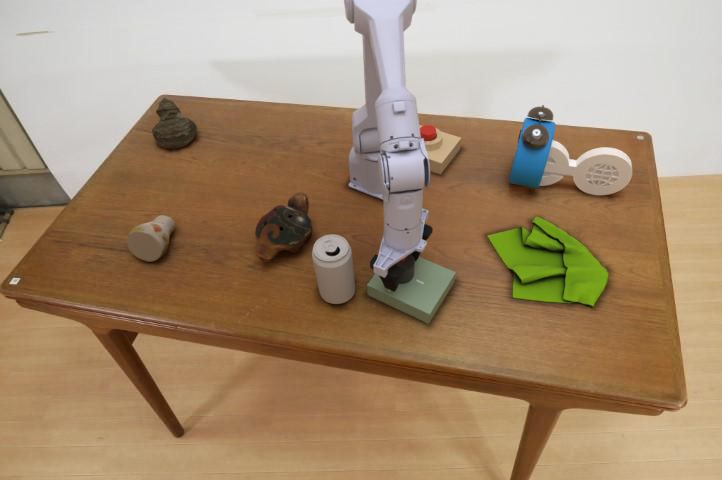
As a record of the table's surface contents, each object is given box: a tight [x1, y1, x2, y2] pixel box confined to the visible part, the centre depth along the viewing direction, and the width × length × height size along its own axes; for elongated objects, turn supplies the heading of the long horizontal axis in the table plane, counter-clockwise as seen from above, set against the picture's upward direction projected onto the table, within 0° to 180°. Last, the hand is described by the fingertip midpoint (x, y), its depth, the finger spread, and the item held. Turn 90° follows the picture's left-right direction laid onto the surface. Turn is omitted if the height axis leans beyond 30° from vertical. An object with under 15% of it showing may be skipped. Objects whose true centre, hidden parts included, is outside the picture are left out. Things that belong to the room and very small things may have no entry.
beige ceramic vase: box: [125, 214, 176, 262], centre depth 92 cm, size 8×10×10 cm
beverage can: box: [311, 233, 356, 305], centre depth 81 cm, size 6×6×12 cm
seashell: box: [151, 97, 198, 150], centre depth 112 cm, size 11×12×10 cm
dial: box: [397, 254, 415, 284], centre depth 82 cm, size 4×4×4 cm
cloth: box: [486, 216, 610, 307], centre depth 87 cm, size 20×22×2 cm
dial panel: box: [366, 256, 457, 325], centre depth 84 cm, size 12×10×3 cm
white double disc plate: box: [539, 139, 633, 196], centre depth 96 cm, size 22×2×10 cm, turn 73°
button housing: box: [419, 124, 462, 175], centre depth 107 cm, size 12×10×5 cm
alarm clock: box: [508, 104, 556, 193], centre depth 96 cm, size 13×6×15 cm, turn 160°
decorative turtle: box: [254, 191, 313, 263], centre depth 90 cm, size 10×15×8 cm, turn 155°
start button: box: [420, 124, 437, 141], centre depth 104 cm, size 4×4×2 cm
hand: (401, 272), depth 83 cm, fingers open, 7 cm apart
